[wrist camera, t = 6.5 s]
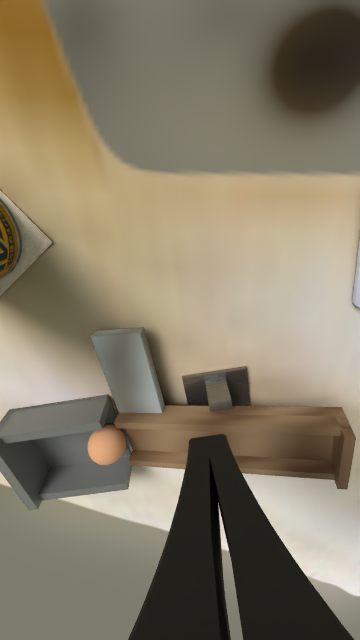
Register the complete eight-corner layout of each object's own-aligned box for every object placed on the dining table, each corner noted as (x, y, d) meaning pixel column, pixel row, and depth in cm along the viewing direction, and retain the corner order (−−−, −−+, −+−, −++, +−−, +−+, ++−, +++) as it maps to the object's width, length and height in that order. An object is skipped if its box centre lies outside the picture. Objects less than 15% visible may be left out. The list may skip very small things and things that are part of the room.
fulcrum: (245, 366, 21) (255, 390, 18) (251, 440, 24) (260, 469, 22) (182, 376, 21) (183, 401, 18) (197, 448, 24) (200, 477, 22)
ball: (94, 415, 23) (126, 417, 22) (105, 439, 24) (135, 442, 23) (74, 446, 20) (109, 449, 19) (87, 471, 21) (120, 475, 20)
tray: (107, 394, 22) (96, 429, 18) (132, 459, 25) (126, 497, 22) (9, 409, 22) (-19, 446, 19) (46, 470, 25) (29, 510, 22)
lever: (353, 313, 15) (372, 335, 13) (335, 456, 20) (347, 489, 18) (95, 330, 19) (78, 349, 16) (137, 446, 24) (128, 471, 22)
